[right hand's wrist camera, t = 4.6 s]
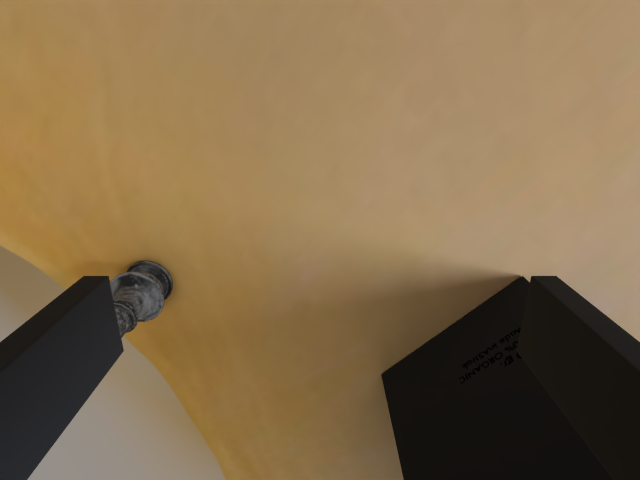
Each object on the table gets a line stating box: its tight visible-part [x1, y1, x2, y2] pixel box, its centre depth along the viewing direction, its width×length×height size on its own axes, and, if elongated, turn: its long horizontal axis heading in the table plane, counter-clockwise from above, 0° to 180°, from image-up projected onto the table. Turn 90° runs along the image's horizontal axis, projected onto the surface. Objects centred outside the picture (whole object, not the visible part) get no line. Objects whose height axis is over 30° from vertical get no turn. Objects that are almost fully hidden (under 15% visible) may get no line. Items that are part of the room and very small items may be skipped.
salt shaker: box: [110, 261, 173, 338], centre depth 40 cm, size 6×6×12 cm
